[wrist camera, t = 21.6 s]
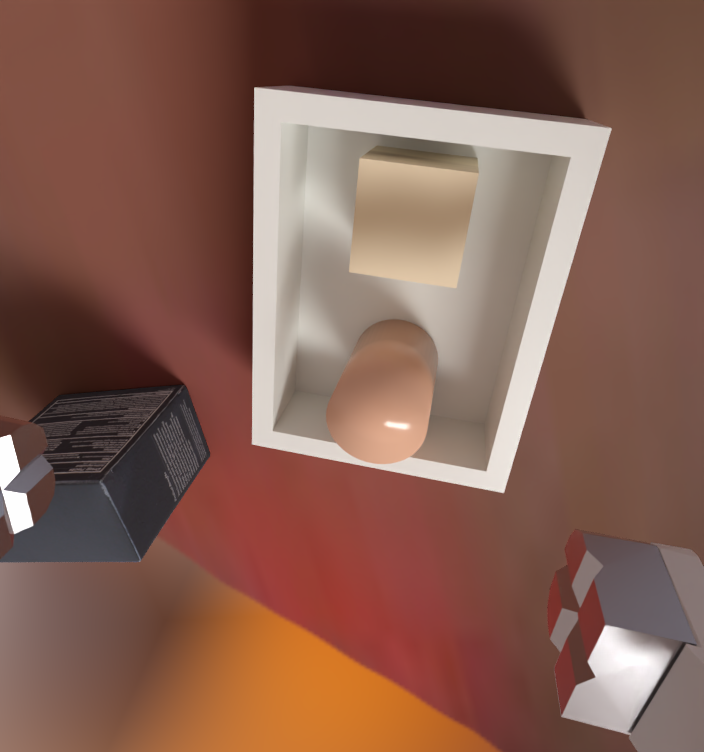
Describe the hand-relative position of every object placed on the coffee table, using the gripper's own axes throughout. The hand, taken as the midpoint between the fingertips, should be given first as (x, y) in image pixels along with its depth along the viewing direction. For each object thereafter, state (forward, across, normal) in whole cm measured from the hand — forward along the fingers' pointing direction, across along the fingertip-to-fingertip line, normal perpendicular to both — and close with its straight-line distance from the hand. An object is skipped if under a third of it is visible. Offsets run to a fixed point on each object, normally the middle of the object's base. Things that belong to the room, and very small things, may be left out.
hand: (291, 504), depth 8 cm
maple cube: (+23, 0, 0) cm, 23 cm away
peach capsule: (+23, 0, +9) cm, 25 cm away
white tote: (+24, 0, +4) cm, 25 cm away
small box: (+24, +18, +18) cm, 36 cm away
